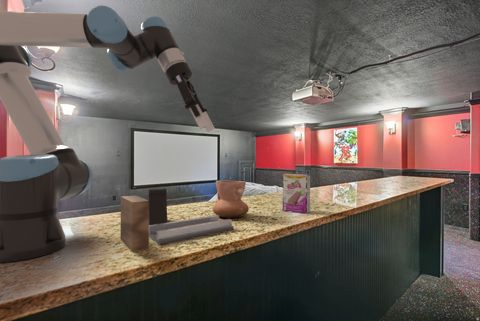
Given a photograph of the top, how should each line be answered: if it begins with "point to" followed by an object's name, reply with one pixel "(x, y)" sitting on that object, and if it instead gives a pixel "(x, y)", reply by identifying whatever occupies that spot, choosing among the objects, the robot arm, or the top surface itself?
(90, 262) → the top surface
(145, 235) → the brown wooden block
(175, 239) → the door track
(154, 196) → the door stopper
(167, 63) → the robot arm
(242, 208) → the ceramic jug
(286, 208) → the candy bar box
